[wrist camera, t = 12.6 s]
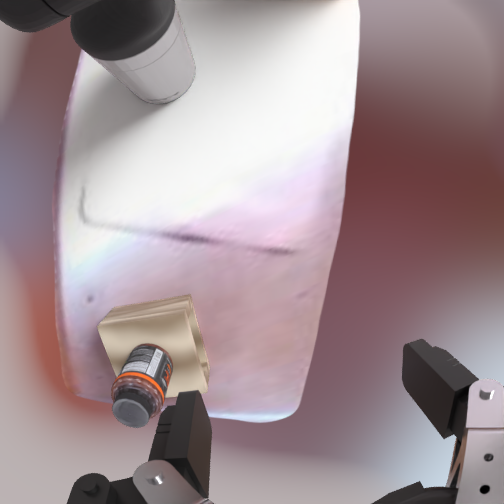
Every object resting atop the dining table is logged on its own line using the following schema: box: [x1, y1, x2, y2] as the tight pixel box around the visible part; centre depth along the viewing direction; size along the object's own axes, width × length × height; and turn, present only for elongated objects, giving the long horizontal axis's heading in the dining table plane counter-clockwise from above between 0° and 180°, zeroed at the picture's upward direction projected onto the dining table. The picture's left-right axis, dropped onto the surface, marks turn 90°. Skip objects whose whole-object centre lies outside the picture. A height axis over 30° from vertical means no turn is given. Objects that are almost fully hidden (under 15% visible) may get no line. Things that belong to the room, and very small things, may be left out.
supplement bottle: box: [111, 343, 173, 428], centre depth 33 cm, size 6×6×11 cm
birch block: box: [97, 294, 210, 398], centre depth 42 cm, size 12×12×7 cm
